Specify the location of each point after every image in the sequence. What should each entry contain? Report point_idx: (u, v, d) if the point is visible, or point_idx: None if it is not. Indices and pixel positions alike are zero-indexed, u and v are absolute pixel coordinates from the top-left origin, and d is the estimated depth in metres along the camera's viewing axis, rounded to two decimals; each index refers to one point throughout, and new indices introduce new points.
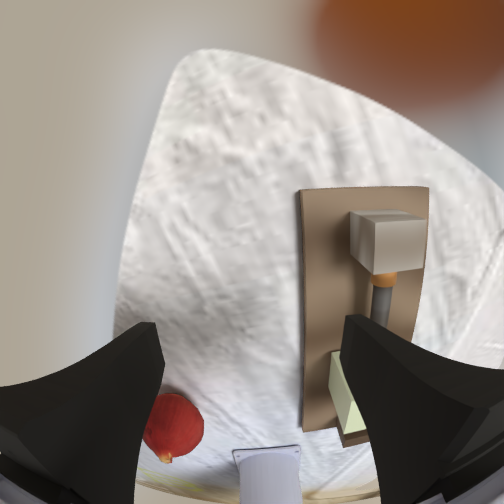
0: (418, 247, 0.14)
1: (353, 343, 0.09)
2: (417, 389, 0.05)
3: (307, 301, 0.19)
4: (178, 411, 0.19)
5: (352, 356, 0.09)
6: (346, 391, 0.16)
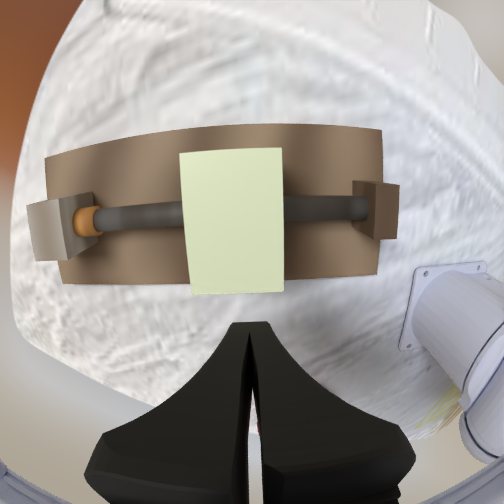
0: (44, 210, 0.13)
1: (251, 352, 0.09)
2: (260, 415, 0.05)
3: (145, 283, 0.18)
4: None
5: (252, 365, 0.09)
6: None
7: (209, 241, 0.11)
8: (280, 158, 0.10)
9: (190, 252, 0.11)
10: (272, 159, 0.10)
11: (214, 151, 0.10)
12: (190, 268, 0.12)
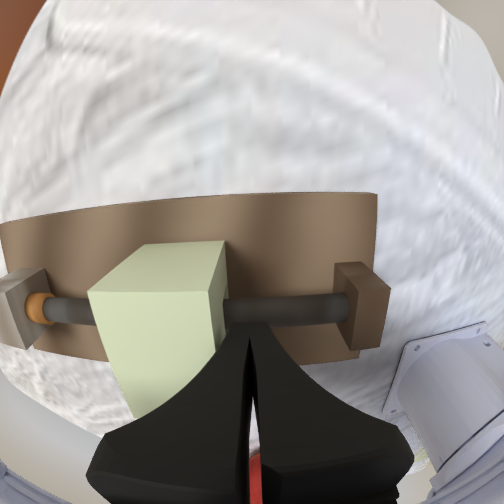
0: None
1: None
2: None
3: None
4: None
5: (251, 365, 0.09)
6: None
7: (138, 381, 0.09)
8: (207, 304, 0.08)
9: (123, 387, 0.09)
10: (196, 306, 0.08)
11: (123, 293, 0.08)
12: (126, 399, 0.09)
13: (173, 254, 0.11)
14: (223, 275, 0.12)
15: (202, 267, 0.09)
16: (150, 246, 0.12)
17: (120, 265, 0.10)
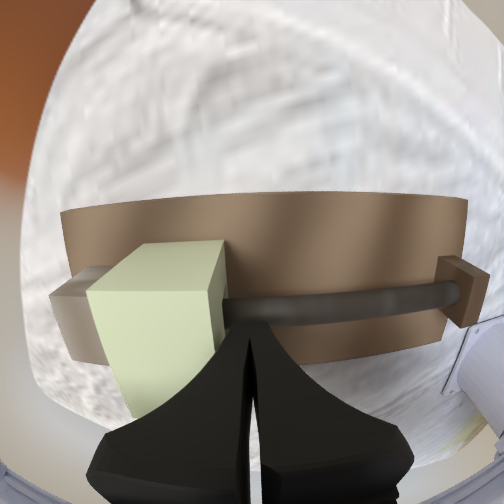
0: (77, 307, 0.10)
1: None
2: None
3: None
4: None
5: (251, 365, 0.09)
6: None
7: (137, 381, 0.09)
8: (206, 304, 0.08)
9: (121, 387, 0.09)
10: (195, 306, 0.08)
11: (122, 292, 0.07)
12: (125, 399, 0.09)
13: (172, 253, 0.11)
14: (222, 275, 0.12)
15: (201, 266, 0.09)
16: (149, 245, 0.12)
17: (119, 264, 0.10)
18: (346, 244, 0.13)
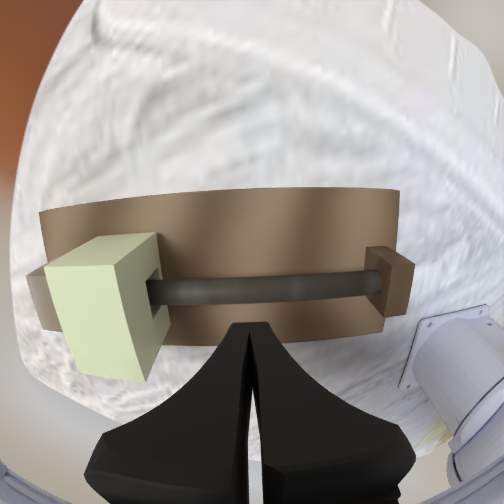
0: (45, 284, 0.12)
1: (251, 352, 0.09)
2: (260, 415, 0.05)
3: None
4: None
5: (252, 365, 0.09)
6: None
7: (79, 338, 0.11)
8: (114, 275, 0.10)
9: (69, 344, 0.11)
10: (108, 276, 0.10)
11: (65, 267, 0.10)
12: (73, 355, 0.11)
13: (112, 242, 0.13)
14: (150, 259, 0.14)
15: (123, 250, 0.12)
16: (101, 237, 0.15)
17: (72, 250, 0.12)
18: (263, 235, 0.16)
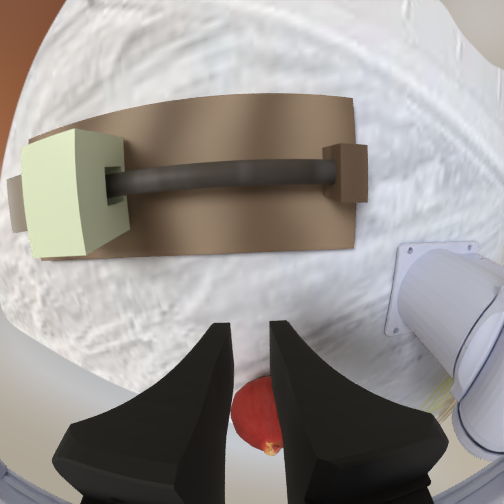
0: (21, 182, 0.12)
1: (272, 351, 0.09)
2: (295, 412, 0.05)
3: (116, 256, 0.18)
4: (234, 405, 0.18)
5: (272, 364, 0.09)
6: None
7: (36, 212, 0.11)
8: (74, 137, 0.10)
9: (28, 222, 0.11)
10: (68, 140, 0.10)
11: (37, 142, 0.10)
12: (29, 235, 0.11)
13: None
14: (113, 154, 0.14)
15: None
16: None
17: None
18: (218, 134, 0.15)
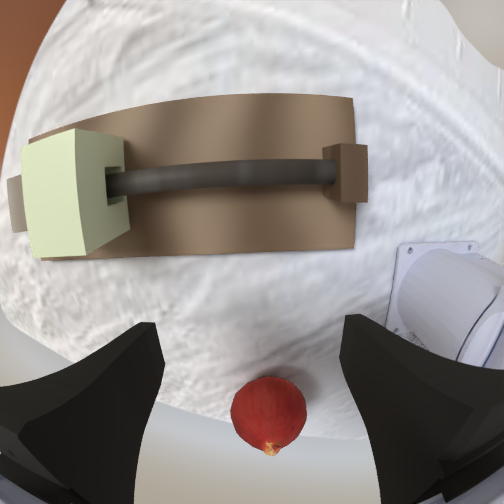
0: (21, 182, 0.12)
1: (353, 343, 0.09)
2: (416, 389, 0.05)
3: (116, 256, 0.18)
4: (234, 405, 0.18)
5: (352, 356, 0.09)
6: None
7: (36, 212, 0.11)
8: (74, 137, 0.10)
9: (28, 222, 0.11)
10: (68, 139, 0.10)
11: (37, 141, 0.10)
12: (29, 235, 0.11)
13: None
14: (113, 154, 0.14)
15: None
16: None
17: None
18: (218, 134, 0.15)
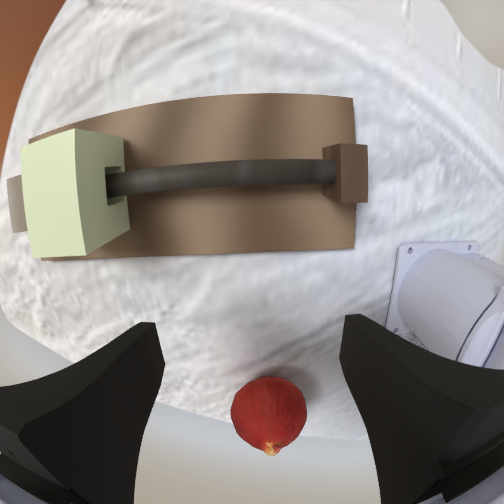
0: (21, 182, 0.12)
1: (353, 343, 0.09)
2: (416, 389, 0.05)
3: (116, 256, 0.18)
4: (234, 405, 0.18)
5: (352, 356, 0.09)
6: None
7: (36, 212, 0.11)
8: (74, 137, 0.10)
9: (28, 222, 0.11)
10: (68, 139, 0.10)
11: (37, 141, 0.10)
12: (29, 235, 0.11)
13: None
14: (113, 154, 0.14)
15: None
16: None
17: None
18: (218, 134, 0.15)
